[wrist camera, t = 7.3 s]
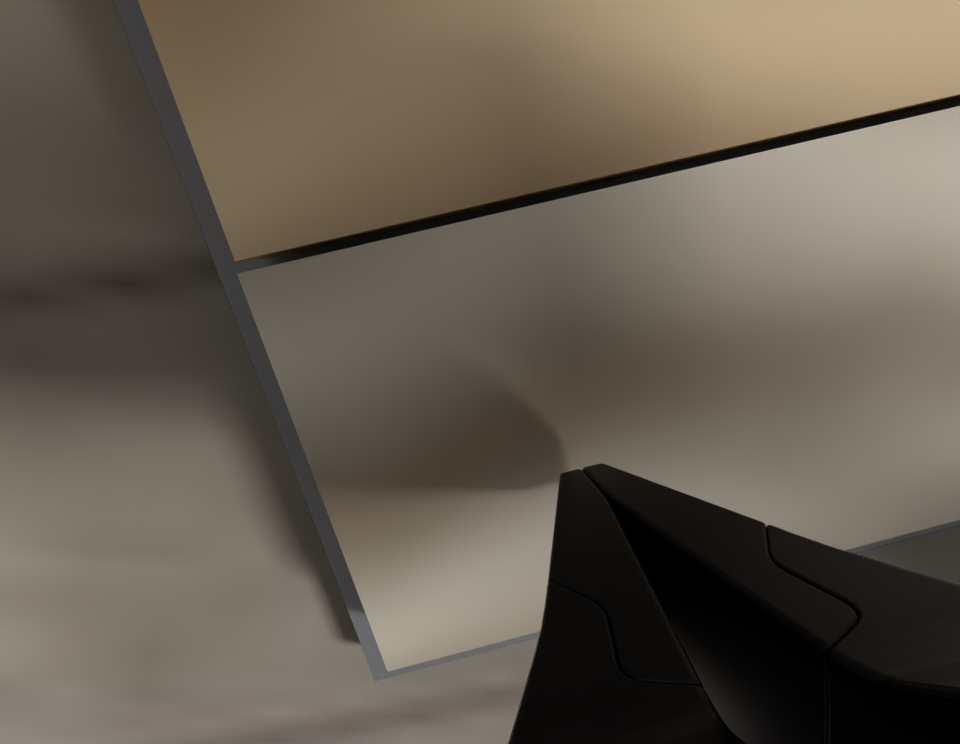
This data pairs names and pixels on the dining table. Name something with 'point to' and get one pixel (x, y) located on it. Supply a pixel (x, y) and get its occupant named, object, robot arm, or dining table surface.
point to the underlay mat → (230, 268)
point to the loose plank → (630, 369)
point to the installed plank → (512, 96)
